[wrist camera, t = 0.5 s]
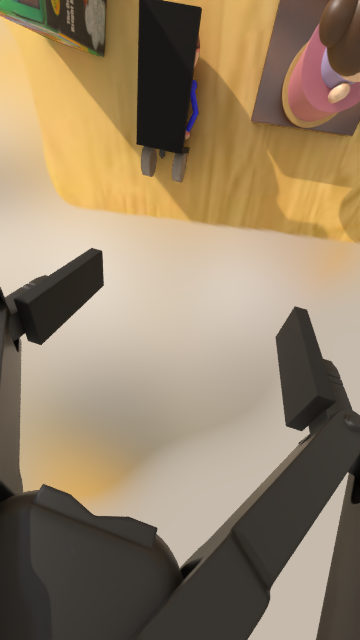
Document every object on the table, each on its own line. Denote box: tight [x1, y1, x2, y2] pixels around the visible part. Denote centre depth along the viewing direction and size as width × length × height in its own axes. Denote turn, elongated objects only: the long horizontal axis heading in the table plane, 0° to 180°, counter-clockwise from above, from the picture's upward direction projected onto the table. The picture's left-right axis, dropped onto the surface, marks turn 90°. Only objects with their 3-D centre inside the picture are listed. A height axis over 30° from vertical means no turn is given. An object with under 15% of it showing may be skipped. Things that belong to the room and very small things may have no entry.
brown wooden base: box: [251, 0, 360, 136], centre depth 23 cm, size 16×12×4 cm
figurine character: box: [137, 0, 202, 182], centre depth 29 cm, size 7×8×15 cm
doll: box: [282, 0, 360, 128], centre depth 17 cm, size 7×7×17 cm
